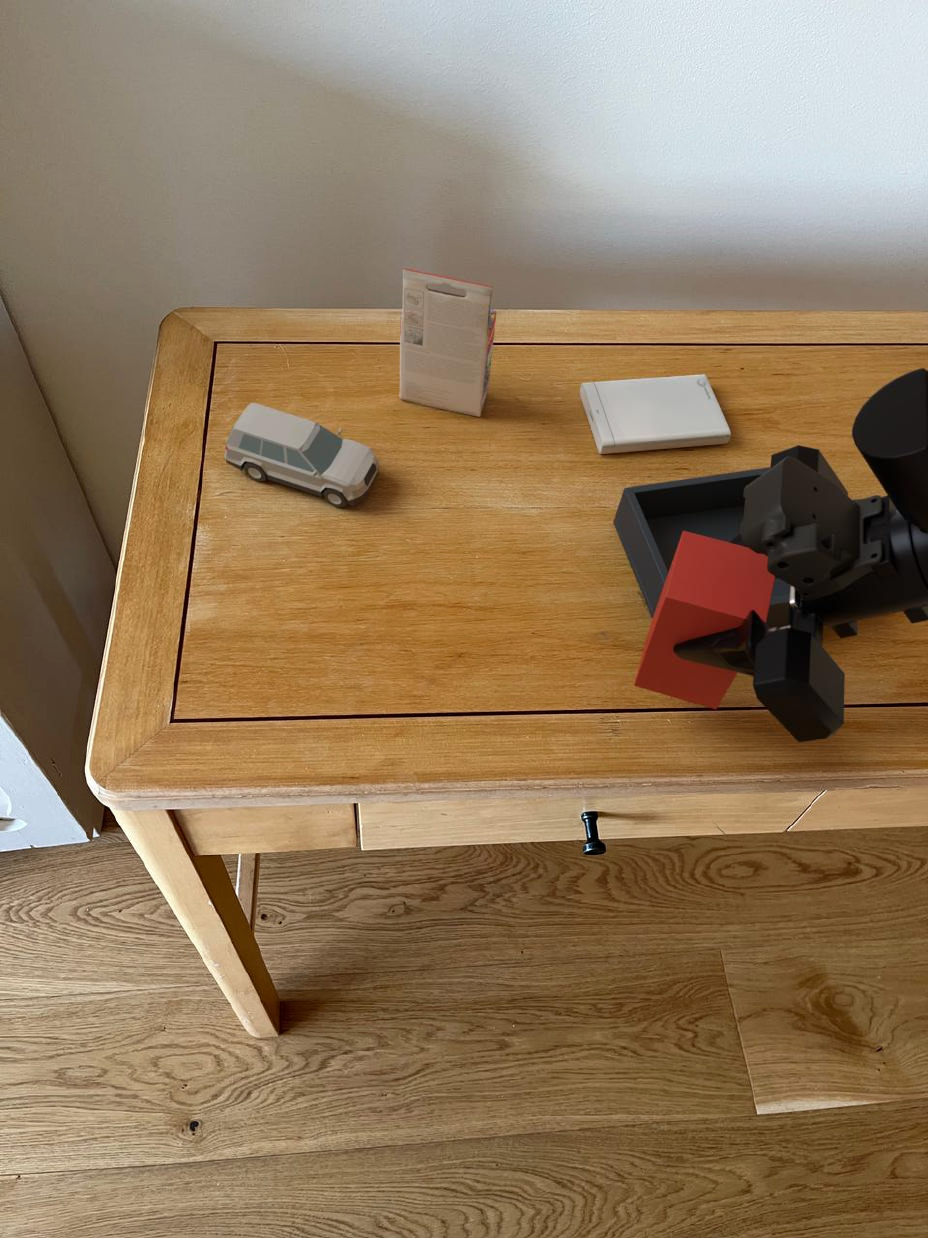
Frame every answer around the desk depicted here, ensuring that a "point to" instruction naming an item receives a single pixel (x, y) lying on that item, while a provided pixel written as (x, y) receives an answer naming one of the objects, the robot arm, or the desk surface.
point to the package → (702, 615)
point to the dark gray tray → (685, 528)
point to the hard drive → (653, 414)
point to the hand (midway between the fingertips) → (681, 615)
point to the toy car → (301, 455)
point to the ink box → (445, 343)
